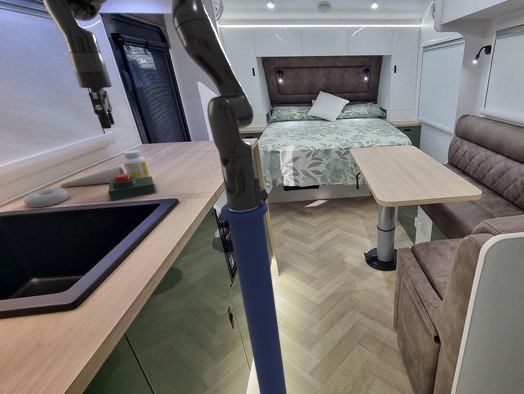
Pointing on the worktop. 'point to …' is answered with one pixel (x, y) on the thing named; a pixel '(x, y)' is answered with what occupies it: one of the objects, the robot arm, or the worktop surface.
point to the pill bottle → (135, 164)
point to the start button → (121, 177)
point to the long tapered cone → (95, 178)
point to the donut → (46, 197)
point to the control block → (131, 188)
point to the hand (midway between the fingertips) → (108, 126)
